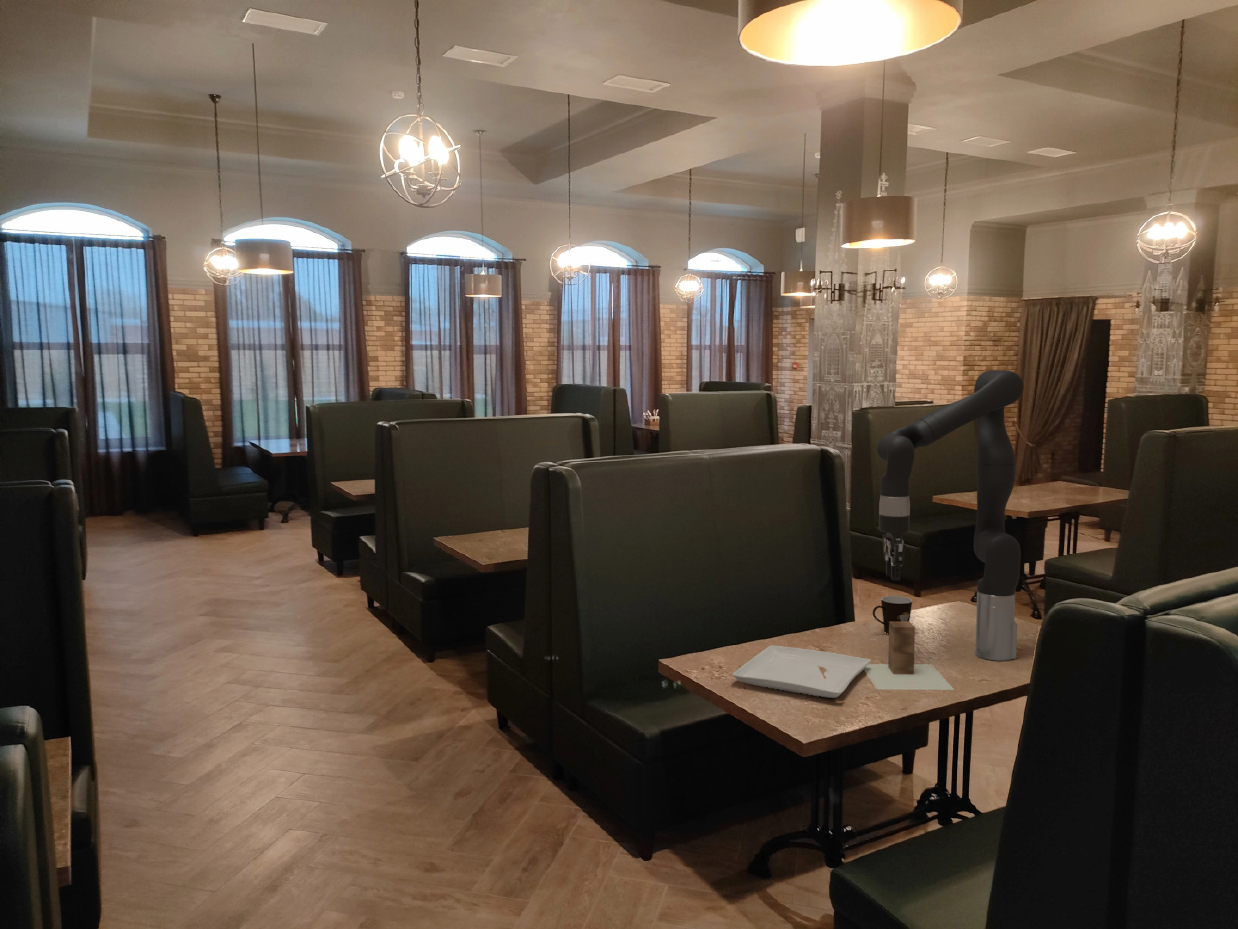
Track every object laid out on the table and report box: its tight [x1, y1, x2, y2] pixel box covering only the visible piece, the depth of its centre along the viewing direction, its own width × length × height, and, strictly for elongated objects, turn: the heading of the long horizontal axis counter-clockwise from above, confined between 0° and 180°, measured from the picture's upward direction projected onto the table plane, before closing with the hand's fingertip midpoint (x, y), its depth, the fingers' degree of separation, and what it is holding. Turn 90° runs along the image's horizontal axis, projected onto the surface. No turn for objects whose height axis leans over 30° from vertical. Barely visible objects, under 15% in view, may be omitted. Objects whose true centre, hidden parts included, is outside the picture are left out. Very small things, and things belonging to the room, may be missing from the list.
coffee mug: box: [872, 595, 913, 634], centre depth 250 cm, size 12×9×10 cm
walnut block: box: [887, 621, 916, 674], centre depth 217 cm, size 5×5×12 cm
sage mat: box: [863, 663, 955, 691], centre depth 214 cm, size 18×18×1 cm
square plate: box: [731, 644, 872, 699], centre depth 215 cm, size 27×27×4 cm
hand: (893, 577), depth 224 cm, fingers open, 4 cm apart
